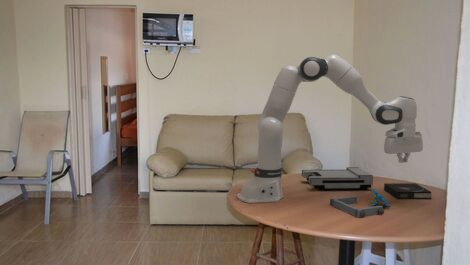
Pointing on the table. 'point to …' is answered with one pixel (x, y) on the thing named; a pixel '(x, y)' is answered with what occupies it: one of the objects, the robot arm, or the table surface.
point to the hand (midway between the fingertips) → (402, 162)
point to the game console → (339, 179)
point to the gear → (378, 199)
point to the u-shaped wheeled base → (362, 212)
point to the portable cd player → (407, 191)
